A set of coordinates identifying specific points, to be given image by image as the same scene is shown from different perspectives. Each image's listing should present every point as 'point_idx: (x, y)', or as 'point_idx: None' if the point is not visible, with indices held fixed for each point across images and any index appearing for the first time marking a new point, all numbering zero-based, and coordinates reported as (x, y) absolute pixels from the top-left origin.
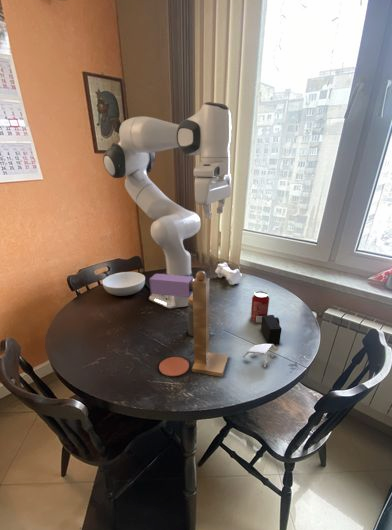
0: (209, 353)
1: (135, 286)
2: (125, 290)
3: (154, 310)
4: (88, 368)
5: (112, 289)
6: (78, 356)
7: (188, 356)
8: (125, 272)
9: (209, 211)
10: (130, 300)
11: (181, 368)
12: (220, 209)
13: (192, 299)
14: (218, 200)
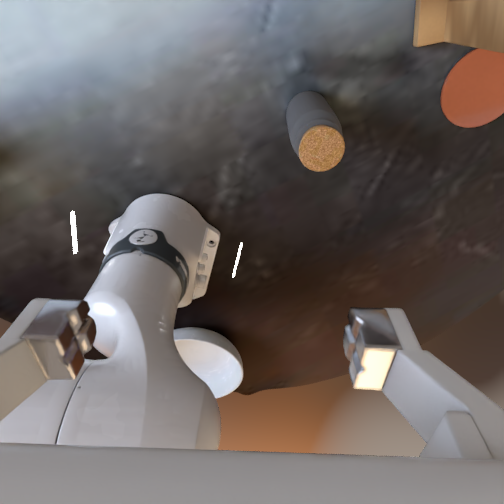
0: (426, 10)
1: (207, 339)
2: (229, 345)
3: (244, 258)
4: (500, 248)
5: (242, 365)
6: (463, 284)
7: (428, 74)
8: None
9: (440, 366)
10: (227, 321)
11: (492, 63)
12: (69, 335)
13: (338, 151)
14: (221, 453)
